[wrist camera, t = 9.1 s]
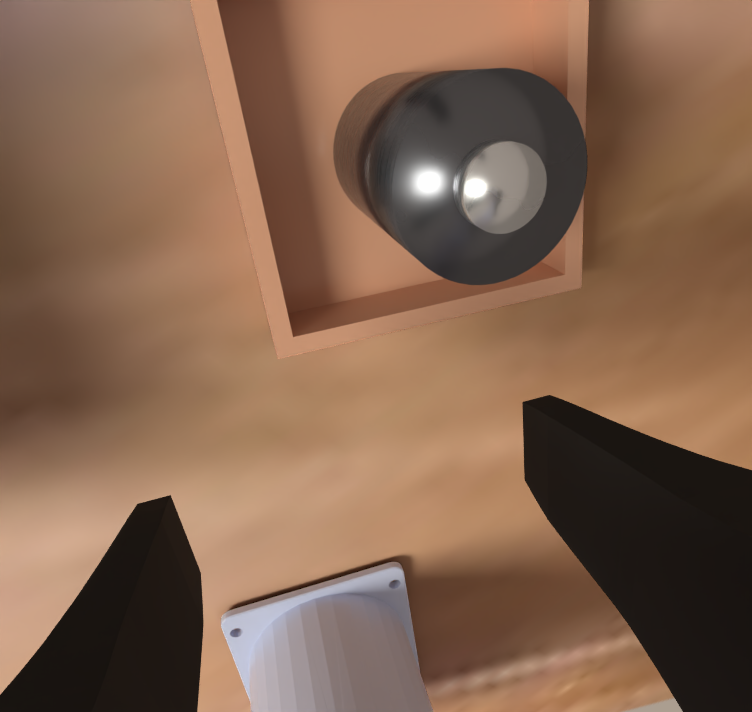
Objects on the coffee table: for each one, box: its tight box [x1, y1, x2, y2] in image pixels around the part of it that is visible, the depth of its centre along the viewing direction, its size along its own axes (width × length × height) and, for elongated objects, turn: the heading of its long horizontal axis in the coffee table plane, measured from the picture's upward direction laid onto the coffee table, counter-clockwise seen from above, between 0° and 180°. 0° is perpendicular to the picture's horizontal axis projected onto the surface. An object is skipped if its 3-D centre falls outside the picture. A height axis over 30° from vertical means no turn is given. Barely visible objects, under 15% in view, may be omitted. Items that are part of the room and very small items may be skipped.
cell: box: [333, 68, 587, 285], centre depth 15 cm, size 4×4×7 cm
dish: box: [190, 0, 589, 359], centre depth 17 cm, size 10×10×2 cm
